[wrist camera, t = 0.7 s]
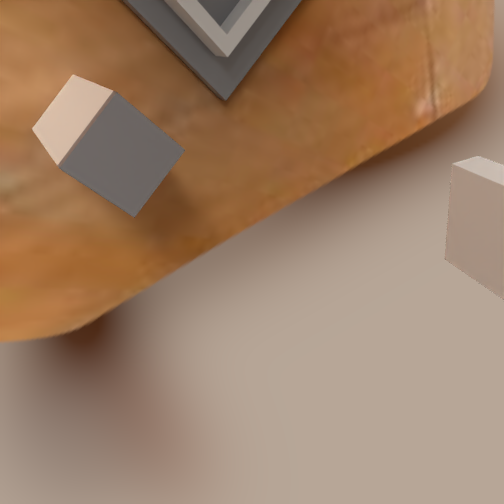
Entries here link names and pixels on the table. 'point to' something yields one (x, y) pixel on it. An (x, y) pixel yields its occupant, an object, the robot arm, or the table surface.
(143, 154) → the block
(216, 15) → the dock
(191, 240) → the table surface
